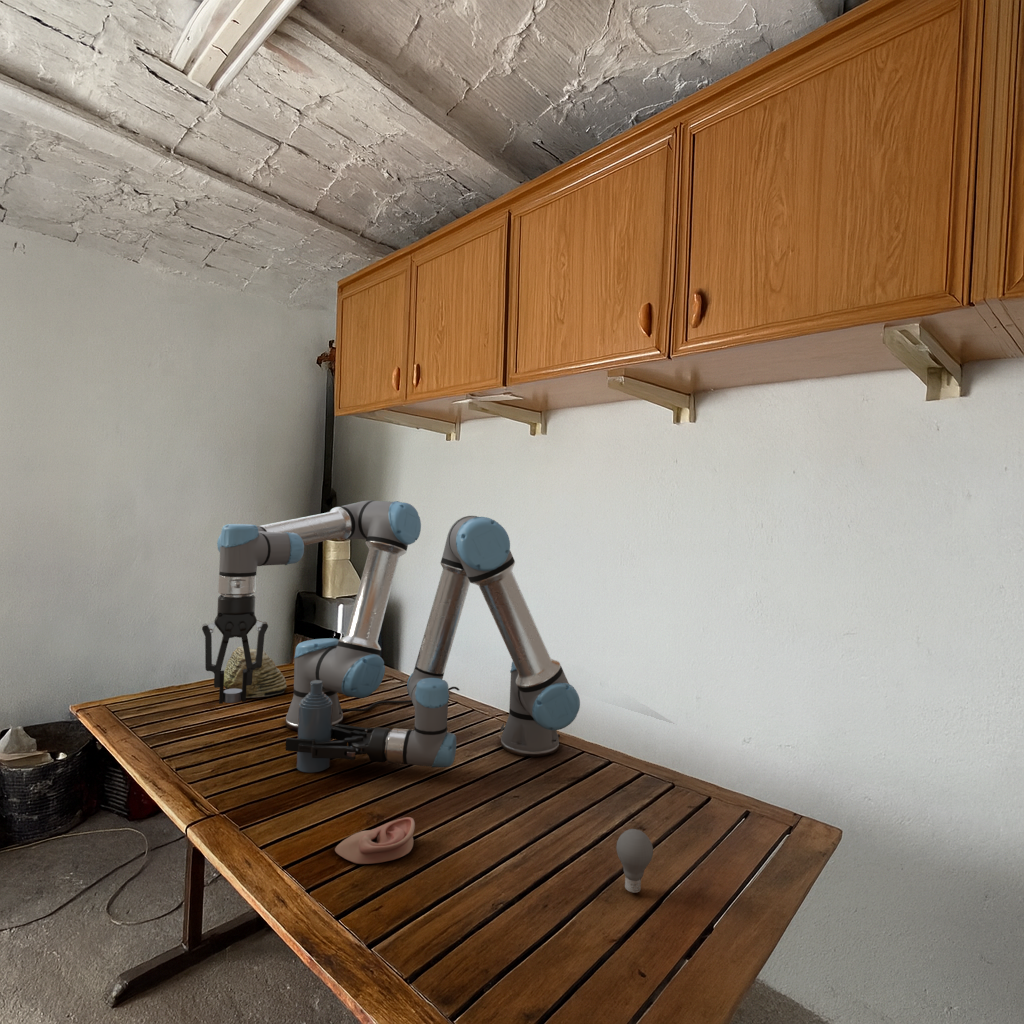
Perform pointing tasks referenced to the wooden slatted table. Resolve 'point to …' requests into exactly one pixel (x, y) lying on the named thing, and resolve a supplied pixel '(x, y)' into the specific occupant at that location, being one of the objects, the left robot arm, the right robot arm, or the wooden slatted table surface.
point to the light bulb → (634, 857)
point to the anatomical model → (379, 843)
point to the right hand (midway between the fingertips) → (294, 737)
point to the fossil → (254, 675)
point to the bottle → (314, 726)
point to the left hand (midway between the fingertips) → (232, 700)
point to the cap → (232, 695)
